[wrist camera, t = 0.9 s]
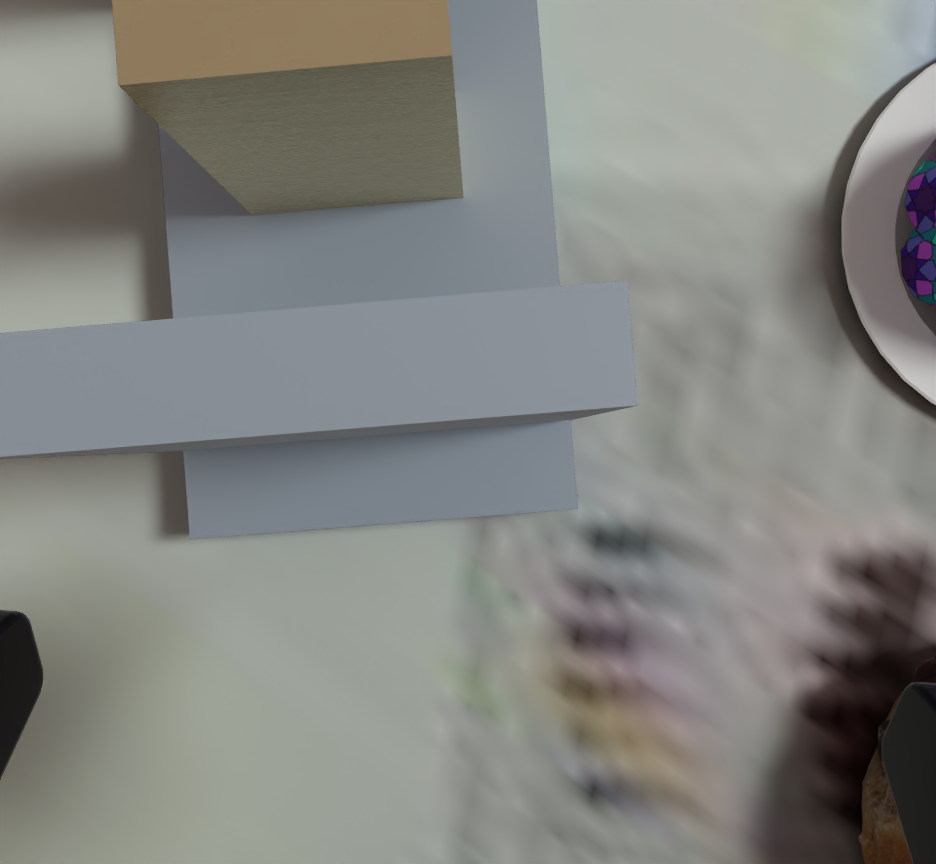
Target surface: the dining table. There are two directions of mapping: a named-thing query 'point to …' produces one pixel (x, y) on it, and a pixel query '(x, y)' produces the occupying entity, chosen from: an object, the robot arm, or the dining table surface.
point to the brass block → (300, 96)
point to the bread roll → (886, 797)
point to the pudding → (873, 232)
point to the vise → (381, 279)
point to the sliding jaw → (318, 372)
